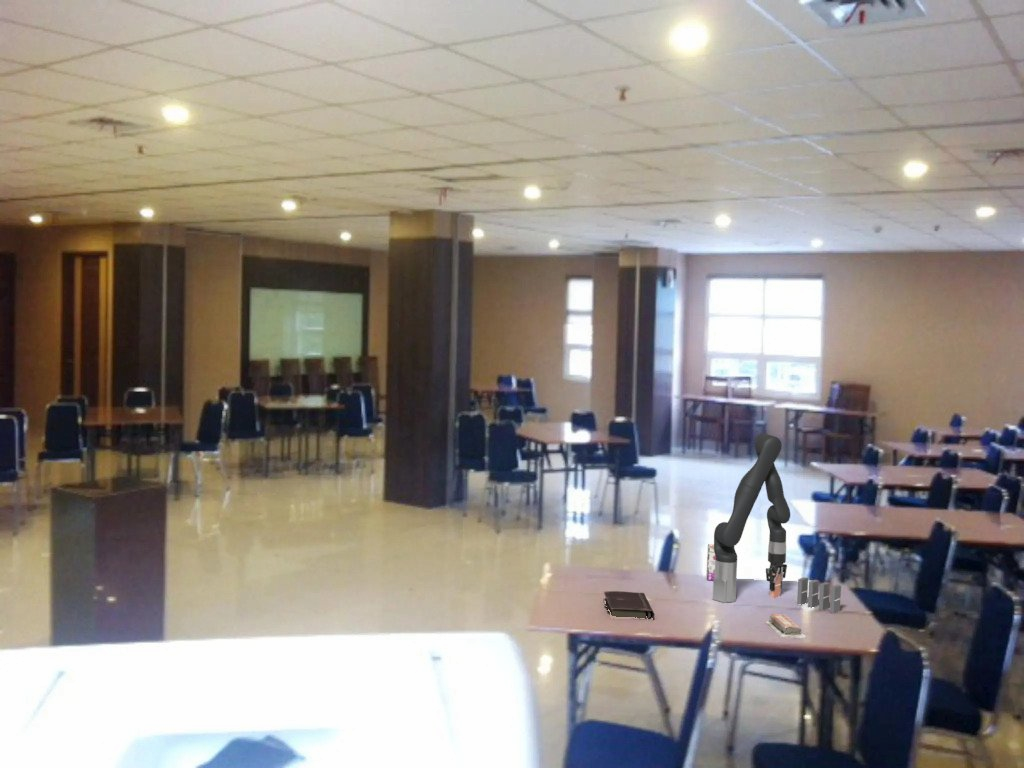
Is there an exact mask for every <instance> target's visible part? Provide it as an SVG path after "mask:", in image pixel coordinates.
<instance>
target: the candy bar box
mask: <svg viewBox="0 0 1024 768" xmlns="http://www.w3.org/2000/svg"><path fill="white" fill-rule="evenodd" d="M706 559H707V560H706V575H705V576H706V577H707V578H706V577H705V578H706V581H712V582H713V581H714V578H715V553H714V543H707V556H706Z"/></svg>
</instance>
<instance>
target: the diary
mask: <svg viewBox="0 0 1024 768" xmlns="http://www.w3.org/2000/svg"><path fill="white" fill-rule="evenodd" d="M603 594H604V596H605V598H604V600H606V604H604V606H605V605H606V606H607V609H609V610H610V612H611V615H612V616H616V617H635V618H636V617H637V618H645V619H647V618H649V619H650V618H651V617H652V618H653V620H654V619H655V613H654V612H655V611H654V609H653V608H652V606H651V603H650V602H649V600H648V598H647V597H646V594H645V593H644V592H633V591H617V590H615V591H613V590H612V591H609V590H608V591H607V590H606V591H603ZM607 609H606V610H607ZM646 616H647V618H646Z"/></svg>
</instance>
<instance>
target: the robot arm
mask: <svg viewBox="0 0 1024 768" xmlns="http://www.w3.org/2000/svg"><path fill="white" fill-rule="evenodd" d="M753 443H754V444H753V446H754V450H755V452H756V455H757V460H756V461H755V463H754V465H753V466H752V467H750V469H749V470H748V471H747V472H746V473H745V474H744V475H743V476H742V478H741V480H740V482H739V484H738V485H737V488H736V489H735V494H734V498H733V509H732V512H731V515H730V517H729V519H728V521H723V522H720V523H718V524H717V525H716V527H715V529H714V532H713V533H714V534H713V544H714V553H715V578H714V581H712V582H713V585H712V600H713V601H717V602H720V603H724V604H725V603H733V602H736V599H737V598H736V595H737V569H738V554H737V552H736V550H735V549H736V548H735V546H737V544H738V543H739V542H740V540H741V539H742V535H743V532H744V530H745V527H746V524H747V521H748V518H749V516H750V514H751V512H752V510H753V507H754V506H755V503H756V502H757V499H758V497H759V495H760V493H761V491H762V488H763V486H764V484H765V490H766V496H767V500H768V502H770V503H771V504H772V505H770V506H769V507H768V509H767V511H766V519H767V525H768V529H769V538H768V549H767V561H768V562H769V567H768V568H767V567H766V568H765V574H766V575H765V576H766V581H767V582H769V591H770V592H771V591H775V580H776V578H777V576H778V574H780V573H781V574H780V576H781V588H780V589H783V580H784V579H786V574H787V568H788V564H785V563H786V560H787V530H786V529H785V528H784V526H782V524H783V525H784V524H787V523H788V522H789V521H790V518H791V510H790V506H789V504H788V502H787V500H786V497H785V494H784V487H783V483H782V480H781V476H780V474H779V473H778V469H777V468H776V465H775V462H776V461H777V459H778V456H779V455H780V453H781V451H782V441H781V439H780V438H778V437H777V436H775V435H772V434H768V433H760V434H759V435H757V436H756V437H755V439H754V442H753ZM772 573H774V574H775V575H772ZM773 577H774V578H773Z"/></svg>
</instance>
